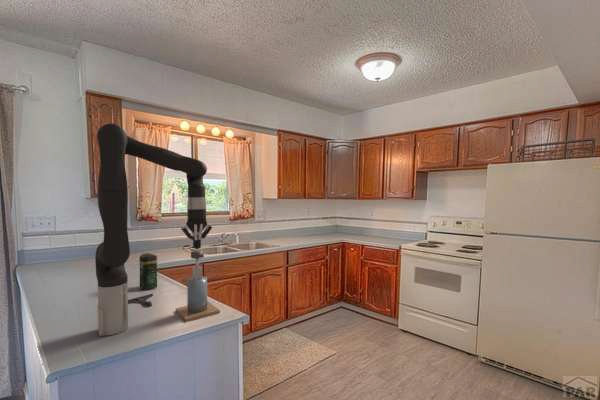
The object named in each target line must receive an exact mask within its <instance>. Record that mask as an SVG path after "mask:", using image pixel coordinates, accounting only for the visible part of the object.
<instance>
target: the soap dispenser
mask: <svg viewBox="0 0 600 400" xmlns="http://www.w3.org/2000/svg"><path fill="white" fill-rule="evenodd" d="M186 283H187V285H186V288H187V290H186V291H187V292H186V293H187V297H186V298H187V300H186V301H187V302H186V303H187V305H184V306H179V307H175V312H176V313H177V314H178V316H180V318H181V319H183V321H184V322H185V323H188V322H191V321H195V320H200V319H203V318H205V317H206V318H207V317H210V316H213V315H214V316H215V315H218V314H220V313H221V310H220V309H219V308H217V307H216V306H215V305H214V304H212V303H211V302H210V301H208V277H207V276H203V266H200V265H199V268H196V266H192V277H188V278H187V280H186Z"/></svg>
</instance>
